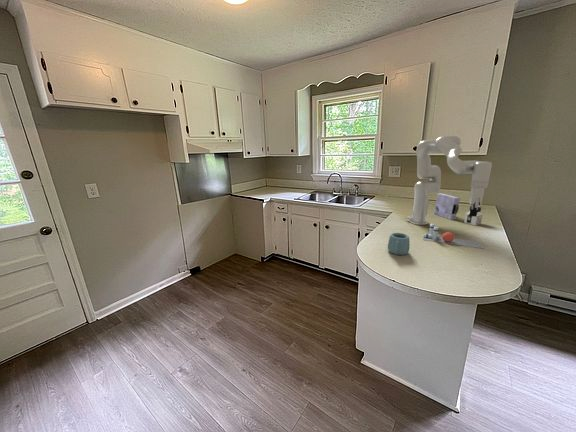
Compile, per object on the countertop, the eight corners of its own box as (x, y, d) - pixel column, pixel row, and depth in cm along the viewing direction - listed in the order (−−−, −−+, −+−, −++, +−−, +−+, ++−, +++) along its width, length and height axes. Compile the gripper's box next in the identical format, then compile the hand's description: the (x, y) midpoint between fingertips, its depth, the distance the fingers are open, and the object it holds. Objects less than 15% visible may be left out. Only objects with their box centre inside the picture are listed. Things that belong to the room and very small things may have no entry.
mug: (406, 261, 124) (408, 243, 121) (383, 256, 130) (385, 239, 127) (409, 250, 136) (412, 233, 134) (389, 246, 142) (390, 230, 139)
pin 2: (432, 240, 149) (434, 227, 147) (431, 239, 151) (433, 226, 149) (436, 241, 148) (438, 228, 145) (436, 240, 150) (438, 227, 147)
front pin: (439, 239, 149) (423, 237, 153) (438, 239, 152) (423, 237, 155) (439, 235, 150) (424, 233, 153) (439, 235, 152) (423, 233, 155)
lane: (423, 239, 151) (423, 239, 151) (423, 234, 159) (423, 234, 159) (483, 248, 136) (483, 248, 136) (480, 242, 145) (480, 242, 144)
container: (475, 225, 174) (479, 208, 170) (463, 222, 181) (467, 205, 177) (481, 223, 177) (484, 206, 174) (469, 221, 184) (472, 204, 180)
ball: (447, 234, 142) (457, 239, 142) (446, 228, 147) (455, 233, 146) (440, 240, 146) (449, 245, 146) (439, 234, 151) (448, 239, 150)
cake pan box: (457, 219, 188) (461, 197, 183) (451, 220, 187) (455, 198, 182) (438, 213, 206) (441, 193, 201) (433, 213, 205) (436, 193, 200)
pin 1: (428, 237, 154) (430, 224, 152) (428, 236, 157) (430, 223, 154) (432, 237, 153) (434, 225, 151) (432, 236, 155) (434, 224, 153)
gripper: (469, 182, 142) (463, 212, 147) (472, 186, 129) (466, 218, 135) (485, 182, 138) (478, 213, 143) (490, 186, 126) (483, 220, 131)
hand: (472, 215), depth 139 cm, fingers closed
